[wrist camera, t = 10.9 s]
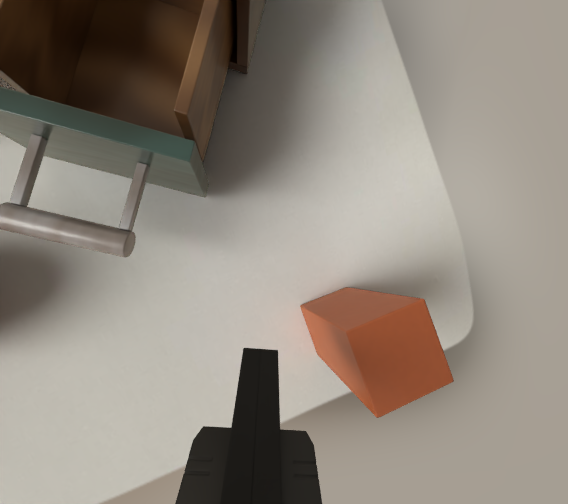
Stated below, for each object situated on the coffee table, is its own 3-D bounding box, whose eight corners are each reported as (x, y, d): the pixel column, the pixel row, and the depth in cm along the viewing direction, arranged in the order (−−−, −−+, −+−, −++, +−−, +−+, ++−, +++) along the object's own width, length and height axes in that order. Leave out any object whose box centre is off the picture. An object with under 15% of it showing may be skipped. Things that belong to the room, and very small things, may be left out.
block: (347, 286, 26) (424, 298, 15) (364, 335, 26) (455, 381, 15) (299, 305, 25) (345, 331, 14) (317, 355, 25) (377, 419, 14)
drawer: (187, 268, 23) (161, 267, 15) (11, 229, 21) (-118, 205, 14) (248, 33, 25) (252, -75, 17) (92, -20, 23) (18, -166, 16)
